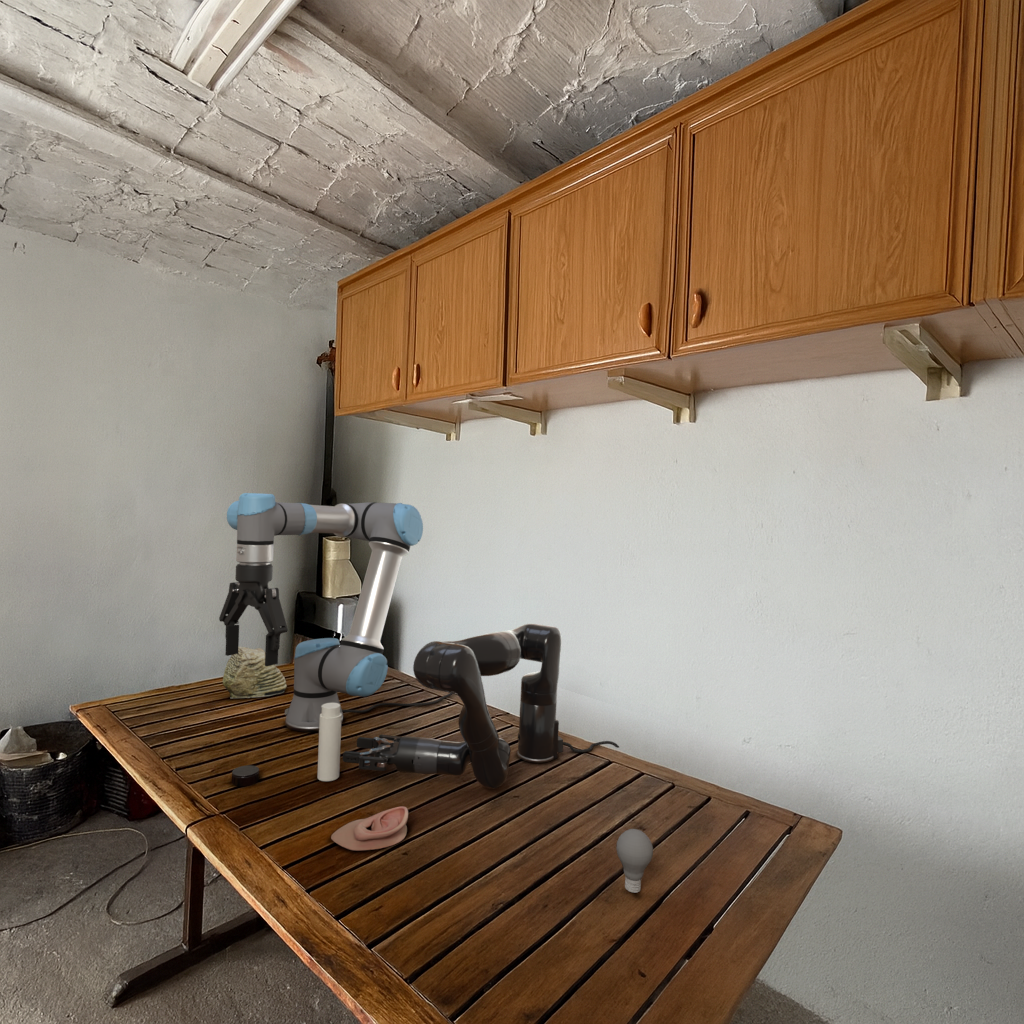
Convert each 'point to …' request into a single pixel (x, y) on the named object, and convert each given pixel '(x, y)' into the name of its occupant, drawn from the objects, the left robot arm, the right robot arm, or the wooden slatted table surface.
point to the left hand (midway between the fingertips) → (251, 659)
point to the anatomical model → (374, 830)
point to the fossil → (252, 675)
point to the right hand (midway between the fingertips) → (350, 749)
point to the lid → (245, 775)
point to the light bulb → (634, 857)
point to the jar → (329, 742)
